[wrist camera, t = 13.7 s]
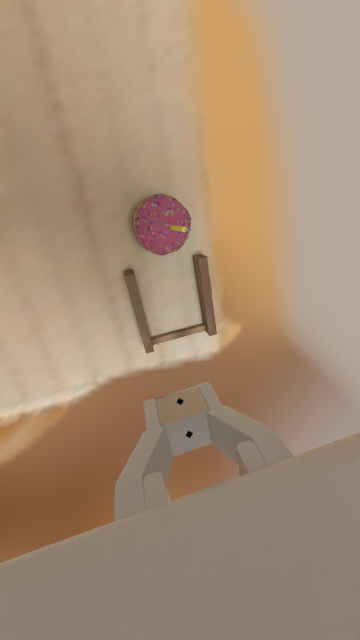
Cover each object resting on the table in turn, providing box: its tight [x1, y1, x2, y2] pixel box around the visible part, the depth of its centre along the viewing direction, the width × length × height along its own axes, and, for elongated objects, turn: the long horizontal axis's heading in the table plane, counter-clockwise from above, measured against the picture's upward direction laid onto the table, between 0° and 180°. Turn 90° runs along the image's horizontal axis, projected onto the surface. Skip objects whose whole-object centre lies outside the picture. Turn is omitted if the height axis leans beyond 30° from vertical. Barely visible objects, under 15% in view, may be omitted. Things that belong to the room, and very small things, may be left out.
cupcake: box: [133, 194, 191, 255], centre depth 36 cm, size 9×8×12 cm
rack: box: [124, 254, 217, 353], centre depth 45 cm, size 14×15×4 cm
